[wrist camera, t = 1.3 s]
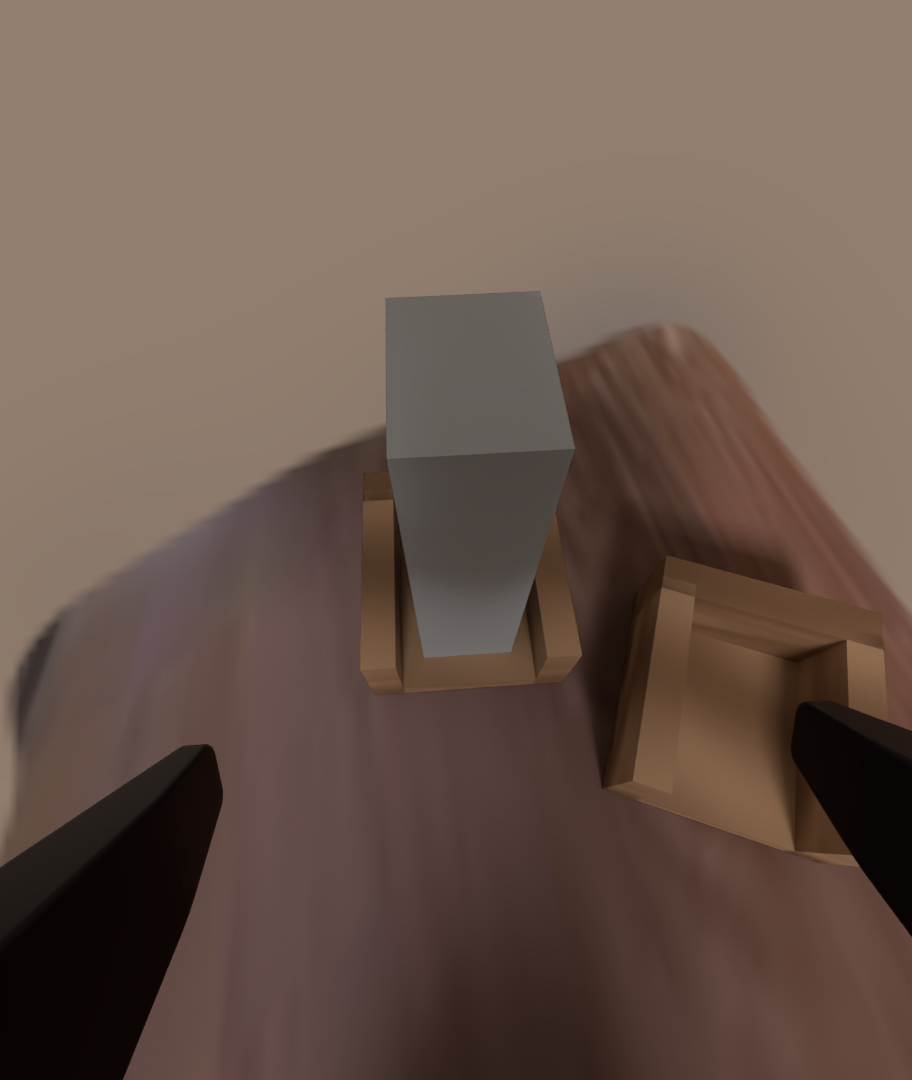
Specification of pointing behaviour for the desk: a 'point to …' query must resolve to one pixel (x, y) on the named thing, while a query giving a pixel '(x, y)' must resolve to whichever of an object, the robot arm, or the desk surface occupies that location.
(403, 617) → the end cap
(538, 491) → the slat
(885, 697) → the end cap
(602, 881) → the desk surface
